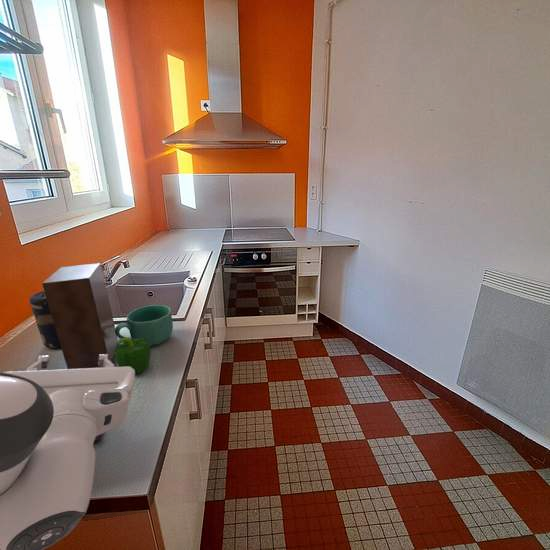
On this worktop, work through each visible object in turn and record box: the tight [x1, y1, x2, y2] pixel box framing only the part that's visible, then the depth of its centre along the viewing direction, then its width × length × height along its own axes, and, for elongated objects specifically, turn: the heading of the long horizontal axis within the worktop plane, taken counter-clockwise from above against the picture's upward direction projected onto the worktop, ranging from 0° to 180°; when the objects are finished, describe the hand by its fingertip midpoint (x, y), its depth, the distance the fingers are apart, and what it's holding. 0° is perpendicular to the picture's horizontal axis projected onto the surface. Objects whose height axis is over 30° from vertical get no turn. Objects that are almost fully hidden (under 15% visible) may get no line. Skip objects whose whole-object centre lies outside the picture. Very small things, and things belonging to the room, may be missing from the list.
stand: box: [41, 262, 119, 369], centre depth 84 cm, size 10×14×26 cm
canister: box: [29, 290, 61, 349], centre depth 93 cm, size 10×10×18 cm
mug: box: [115, 304, 174, 347], centre depth 93 cm, size 17×13×10 cm
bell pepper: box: [114, 337, 151, 375], centre depth 80 cm, size 8×8×10 cm
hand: (74, 357), depth 57 cm, fingers open, 8 cm apart
